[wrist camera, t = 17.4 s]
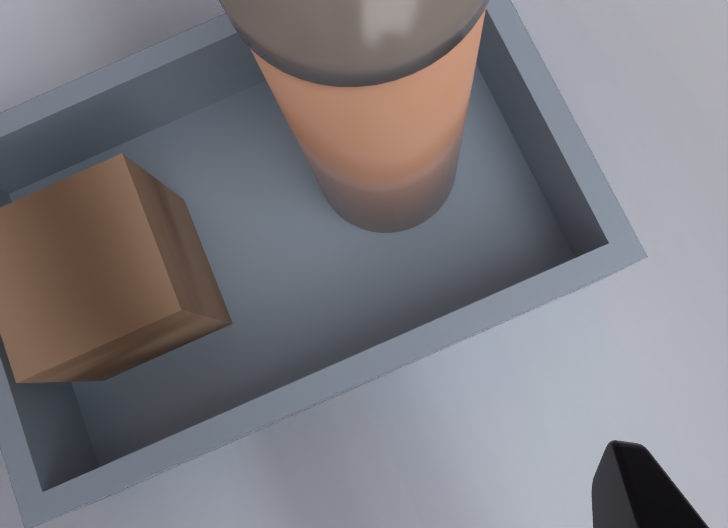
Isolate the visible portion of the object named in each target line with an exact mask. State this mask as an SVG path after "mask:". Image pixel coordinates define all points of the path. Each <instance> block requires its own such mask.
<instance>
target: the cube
mask: <svg viewBox="0 0 728 528" xmlns="http://www.w3.org/2000/svg"><path fill="white" fill-rule="evenodd" d="M231 324H233V323H232V320H231V318H230V315H229V312H228V310H227V307H226V305H225V302H224V300H223V297H222V295H221V292H220V290H219V287H218V284H217V282H216V279H215V277H214V274H213V272H212V269H211V267H210V264H209V261H208V259H207V256H206V254H205V251H204V249H203V246H202V244H201V241H200V238H199V236H198V233H197V231H196V228H195V226H194V223H193V221H192V218H191V216H190V213H189V210H188V208H187V205H186V203H185V200H184V199H183V198H182V197H180V196H179V195H178V194H176V193H175V192H174V191H172V190H171V189H170V188H168V187H167V186H166V185H164V184H163V183H161V182H160V181H159V180H157V179H156V178H155V177H153V176H152V175H151V174H149V173H148V172H147V171H145V170H144V169H143V168H141V167H140V166H139V165H137V164H136V163H135V162H133V161H132V160H131V159H129V158H128V157H127V156H125V155H124V154H123V153H122V154H119V155H117V156H115V157H113V158H110V159H108V160H106V161H104V162H101V163H99V164H97V165H95V166H92V167H90V168H88V169H86V170H83V171H81V172H79V173H77V174H74V175H72V176H70V177H68V178H65V179H63V180H61V181H59V182H56V183H54V184H52V185H50V186H47V187H45V188H43V189H41V190H38V191H36V192H34V193H32V194H29V195H27V196H25V197H23V198H20V199H18V200H16V201H14V202H11V203H9V204H7V205H5V206H2V207H0V334H1V337H2V340H3V343H4V346H5V350H6V353H7V356H8V359H9V362H10V365H11V369H12V372H13V375H14V378H15V381H16V383H44V382H78V381H105V380H107V379H109V378H111V377H114V376H116V375H118V374H120V373H123V372H125V371H127V370H129V369H132V368H134V367H136V366H138V365H141V364H143V363H145V362H147V361H150V360H152V359H154V358H156V357H159V356H161V355H163V354H165V353H168V352H170V351H172V350H174V349H177V348H179V347H181V346H183V345H186V344H188V343H190V342H192V341H195V340H197V339H199V338H202V337H204V336H206V335H208V334H211V333H213V332H215V331H217V330H220V329H222V328H224V327H226V326H229V325H231Z"/></svg>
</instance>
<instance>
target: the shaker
mask: <svg viewBox="0 0 728 528" xmlns="http://www.w3.org/2000/svg"><path fill="white" fill-rule="evenodd" d="M219 1H220V3H221V5H222V7H223V9H224V10H225V12H226V14H227V16H228V18H229V20H230V22H231V24H232V26H233V27H234V29H235V30H236V31H237V33H238V34H239V36H240V37H241V38H242V40H243V41H244V42H245V43H246V44H247V45H248V46H249V47H250V49H251V51H252V53H253V55H254V57H255V59H256V61H257V63H258V65H259V67H260V69H261V71H262V73H263V75H264V77H265V79H266V81H267V83H268V85H269V87H270V89H271V91H272V92H273V94H274V96H275V98H276V100H277V102H278V104H279V106H280V108H281V110H282V112H283V114H284V116H285V118H286V120H287V122H288V124H289V126H290V128H291V130H292V132H293V134H294V136H295V138H296V140H297V142H298V144H299V146H300V148H301V150H302V152H303V154H304V156H305V157H306V159H307V161H308V163H309V165H310V167H311V169H312V171H313V173H314V175H315V177H316V179H317V181H318V183H319V185H320V187H321V189H322V191H323V193H324V195H325V197H326V199H327V201H328V202H329V204H330V205H331V207H332V208H333V209H334V210H335V211H336V212H337V213H338V214H339V215H340V216H341V217H342V218H343V219H345V220H346V221H348V222H349V223H351V224H352V225H354V226H357V227H359V228H361V229H364V230H368V231H372V232H378V233H393V232H400V231H405V230H408V229H411V228H414V227H416V226H418V225H420V224H422V223H424V222H425V221H426V220H428V219H429V218H431V217H432V216H433V215H434V214H435V213H436V212H437V211H438V210H439V209H440V208H441V207H442V206H443V204H444V203H445V201H446V200H447V198H448V197H449V195H450V192H451V190H452V188H453V185H454V181H455V177H456V171H457V166H458V160H459V154H460V149H461V143H462V138H463V132H464V127H465V121H466V116H467V110H468V105H469V99H470V94H471V88H472V82H473V77H474V71H475V66H476V60H477V55H478V49H479V44H480V38H481V33H482V27H483V21H484V16H485V10H486V6H487V4H488V2H489V0H219Z"/></svg>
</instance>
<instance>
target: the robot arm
mask: <svg viewBox="0 0 728 528" xmlns="http://www.w3.org/2000/svg"><path fill="white" fill-rule="evenodd" d="M592 512H593V528H709V527H708V526H707V525H706V523H705V522H704V521H703V520H702V518H701V517H700V516H699V514H698V513H697V512H696V511H695V509H694V508H693V507H692V505H691V504H690V503H689V502H688V500H687V499H686V498H685V497H684V495H683V494H682V493H681V491H680V490H679V489H678V488H677V486H676V485H675V484H674V483H673V481H672V480H671V479H670V477H669V476H668V475H667V474H666V472H665V471H664V470H663V469H662V467H661V466H660V465H659V463H658V462H657V461H656V460H655V458H654V457H653V456H652V455H651V453H650V452H649V451H648V450H647V449H646V448H645V447H644V446H643V445H641V444H637V443H631V442H624V441H617V440H614V441H611V442H610V443H608V445H607V447H606V449H605V451H604V454H603V456H602V458H601V461H600V463H599V466H598V468H597V471H596V473H595V476H594V478H593V483H592Z"/></svg>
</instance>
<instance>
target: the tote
mask: <svg viewBox="0 0 728 528" xmlns="http://www.w3.org/2000/svg"><path fill="white" fill-rule="evenodd" d="M122 153H123V154H124V155H125V156H127V157H128V158H129V159H131V160H132V161H133V162H135V163H136V164H137V165H139V166H140V167H141V168H143V169H144V170H145V171H147V172H148V173H149V174H151V175H152V176H153V177H155V178H156V179H157V180H159V181H160V182H161V183H163V184H164V185H166V186H167V187H168V188H170V189H171V190H172V191H174V192H175V193H176V194H178V195H179V196H180V197H182V198H183V199H184V200H185V203H186V205H187V208H188V210H189V213H190V216H191V218H192V221H193V223H194V226H195V228H196V231H197V233H198V236H199V238H200V241H201V244H202V246H203V249H204V251H205V254H206V256H207V259H208V261H209V264H210V267H211V269H212V272H213V274H214V277H215V279H216V282H217V284H218V287H219V290H220V292H221V295H222V297H223V300H224V302H225V305H226V307H227V310H228V312H229V315H230V318H231V320H232V323H233V324H231V325H229V326H226V327H224V328H222V329H220V330H217V331H215V332H213V333H211V334H208V335H206V336H204V337H202V338H199V339H197V340H195V341H192V342H190V343H188V344H186V345H183V346H181V347H179V348H177V349H174V350H172V351H170V352H168V353H165V354H163V355H161V356H159V357H156V358H154V359H152V360H150V361H147V362H145V363H143V364H141V365H138V366H136V367H134V368H132V369H129V370H127V371H125V372H123V373H120V374H118V375H116V376H114V377H111V378H109V379H107V380H105V381H78V382H44V383H16V381H15V378H14V375H13V372H12V369H11V365H10V362H9V359H8V356H7V353H6V350H5V346H4V343H3V340H2V337H1V334H0V448H1V451H2V454H3V458H4V461H5V464H6V468H7V471H8V474H9V478H10V481H11V484H12V488H13V491H14V494H15V498H16V501H17V504H18V507H19V511H20V514H21V517H22V521H23V524H24V527H25V528H32V527H35V526H37V525H40V524H42V523H44V522H47V521H49V520H52V519H54V518H57V517H59V516H62V515H64V514H66V513H69V512H71V511H74V510H76V509H79V508H81V507H84V506H86V505H89V504H91V503H93V502H96V501H98V500H100V499H103V498H105V497H107V496H110V495H112V494H114V493H116V492H119V491H121V490H123V489H125V488H128V487H130V486H132V485H135V484H137V483H139V482H141V481H144V480H146V479H148V478H151V477H153V476H155V475H157V474H160V473H162V472H164V471H166V470H169V469H171V468H173V467H176V466H178V465H180V464H182V463H185V462H187V461H189V460H191V459H194V458H196V457H198V456H201V455H203V454H205V453H207V452H210V451H212V450H214V449H216V448H219V447H221V446H223V445H226V444H228V443H230V442H232V441H235V440H237V439H239V438H242V437H244V436H246V435H248V434H251V433H253V432H255V431H257V430H260V429H262V428H264V427H267V426H269V425H271V424H273V423H276V422H278V421H280V420H282V419H285V418H287V417H289V416H292V415H294V414H296V413H298V412H301V411H303V410H305V409H308V408H310V407H312V406H314V405H317V404H319V403H321V402H323V401H326V400H328V399H330V398H333V397H335V396H337V395H339V394H342V393H344V392H346V391H348V390H351V389H353V388H355V387H358V386H360V385H362V384H364V383H367V382H369V381H371V380H374V379H376V378H378V377H380V376H383V375H385V374H387V373H389V372H392V371H394V370H396V369H399V368H401V367H403V366H405V365H408V364H410V363H412V362H414V361H417V360H419V359H421V358H424V357H426V356H428V355H430V354H433V353H435V352H437V351H440V350H442V349H444V348H446V347H449V346H451V345H453V344H455V343H458V342H460V341H462V340H465V339H467V338H469V337H471V336H474V335H476V334H478V333H480V332H483V331H485V330H487V329H490V328H492V327H494V326H496V325H499V324H501V323H503V322H505V321H508V320H510V319H512V318H515V317H517V316H519V315H521V314H524V313H526V312H528V311H531V310H533V309H535V308H537V307H540V306H542V305H544V304H546V303H549V302H551V301H553V300H556V299H558V298H560V297H562V296H565V295H567V294H569V293H571V292H574V291H576V290H578V289H581V288H583V287H585V286H587V285H590V284H592V283H594V282H597V281H599V280H601V279H603V278H606V277H608V276H610V275H612V274H614V273H616V272H618V271H620V270H622V269H624V268H626V267H628V266H630V265H632V264H634V263H636V262H638V261H640V260H642V259H644V258H646V257H648V256H647V254H646V253H645V251H644V249H643V247H642V245H641V243H640V241H639V239H638V238H637V236H636V234H635V232H634V230H633V228H632V226H631V225H630V223H629V221H628V219H627V217H626V215H625V213H624V211H623V210H622V208H621V206H620V204H619V202H618V200H617V198H616V196H615V195H614V193H613V191H612V189H611V187H610V185H609V183H608V181H607V180H606V178H605V176H604V174H603V172H602V170H601V168H600V166H599V165H598V163H597V161H596V159H595V157H594V155H593V153H592V151H591V150H590V148H589V146H588V144H587V142H586V140H585V138H584V137H583V135H582V133H581V131H580V129H579V127H578V125H577V123H576V122H575V120H574V118H573V116H572V114H571V112H570V110H569V108H568V107H567V105H566V103H565V101H564V99H563V97H562V95H561V93H560V92H559V90H558V88H557V86H556V84H555V82H554V80H553V78H552V77H551V75H550V73H549V71H548V69H547V67H546V65H545V64H544V62H543V60H542V58H541V56H540V54H539V52H538V50H537V49H536V47H535V45H534V43H533V41H532V39H531V37H530V35H529V34H528V32H527V30H526V28H525V26H524V24H523V22H522V20H521V19H520V17H519V15H518V13H517V11H516V9H515V7H514V5H513V4H512V2H511V0H489V2H488V4H487V6H486V10H485V16H484V21H483V27H482V33H481V38H480V44H479V49H478V55H477V60H476V66H475V71H474V77H473V82H472V88H471V94H470V99H469V105H468V110H467V116H466V121H465V127H464V132H463V138H462V143H461V149H460V154H459V160H458V166H457V171H456V177H455V181H454V185H453V188H452V190H451V192H450V195H449V197H448V198H447V200H446V201H445V203H444V204H443V206H442V207H441V208H440V209H439V210H438V211H437V212H436V213H435V214H434V215H433V216H432V217H431V218H429V219H428V220H426V221H425V222H424V223H422V224H420V225H418V226H416V227H414V228H411V229H408V230H405V231H400V232H393V233H378V232H372V231H368V230H364V229H361V228H359V227H357V226H354V225H352V224H351V223H349V222H348V221H346V220H345V219H343V218H342V217H341V216H340V215H339V214H338V213H337V212H336V211H335V210H334V209H333V208H332V207H331V205H330V204H329V202H328V201H327V199H326V197H325V195H324V193H323V191H322V189H321V187H320V185H319V183H318V181H317V179H316V177H315V175H314V173H313V171H312V169H311V167H310V165H309V163H308V161H307V159H306V157H305V156H304V154H303V152H302V150H301V148H300V146H299V144H298V142H297V140H296V138H295V136H294V134H293V132H292V130H291V128H290V126H289V124H288V122H287V120H286V118H285V116H284V114H283V112H282V110H281V108H280V106H279V104H278V102H277V100H276V98H275V96H274V94H273V92H272V91H271V89H270V87H269V85H268V83H267V81H266V79H265V77H264V75H263V73H262V71H261V69H260V67H259V65H258V63H257V61H256V59H255V57H254V55H253V53H252V51H251V49H250V47H249V46H248V45H247V44H246V43H245V42H244V41H243V40H242V38H241V37H240V36H239V34H238V33H237V31H236V30H235V29H234V27H233V26H232V24H231V22H230V20H229V18H228V16H227V14H226V13H225V14H223V15H221V16H218V17H216V18H214V19H211V20H209V21H207V22H205V23H202V24H200V25H198V26H196V27H193V28H191V29H189V30H187V31H184V32H182V33H180V34H178V35H175V36H173V37H171V38H169V39H166V40H164V41H162V42H160V43H157V44H155V45H153V46H150V47H148V48H146V49H144V50H141V51H139V52H137V53H135V54H132V55H130V56H128V57H126V58H123V59H121V60H119V61H117V62H114V63H112V64H110V65H108V66H105V67H103V68H101V69H98V70H96V71H94V72H92V73H89V74H87V75H85V76H83V77H80V78H78V79H76V80H74V81H71V82H69V83H67V84H65V85H62V86H60V87H58V88H56V89H53V90H51V91H49V92H47V93H44V94H42V95H40V96H37V97H35V98H33V99H31V100H28V101H26V102H24V103H22V104H19V105H17V106H15V107H13V108H10V109H8V110H6V111H4V112H1V113H0V207H2V206H5V205H7V204H9V203H11V202H14V201H16V200H18V199H20V198H23V197H25V196H27V195H29V194H32V193H34V192H36V191H38V190H41V189H43V188H45V187H47V186H50V185H52V184H54V183H56V182H59V181H61V180H63V179H65V178H68V177H70V176H72V175H74V174H77V173H79V172H81V171H83V170H86V169H88V168H90V167H92V166H95V165H97V164H99V163H101V162H104V161H106V160H108V159H110V158H113V157H115V156H117V155H119V154H122Z"/></svg>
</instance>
